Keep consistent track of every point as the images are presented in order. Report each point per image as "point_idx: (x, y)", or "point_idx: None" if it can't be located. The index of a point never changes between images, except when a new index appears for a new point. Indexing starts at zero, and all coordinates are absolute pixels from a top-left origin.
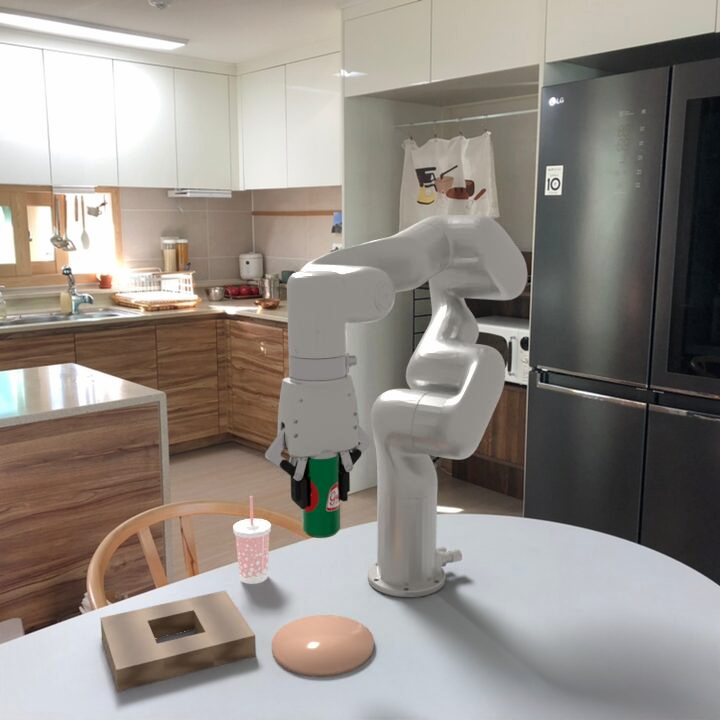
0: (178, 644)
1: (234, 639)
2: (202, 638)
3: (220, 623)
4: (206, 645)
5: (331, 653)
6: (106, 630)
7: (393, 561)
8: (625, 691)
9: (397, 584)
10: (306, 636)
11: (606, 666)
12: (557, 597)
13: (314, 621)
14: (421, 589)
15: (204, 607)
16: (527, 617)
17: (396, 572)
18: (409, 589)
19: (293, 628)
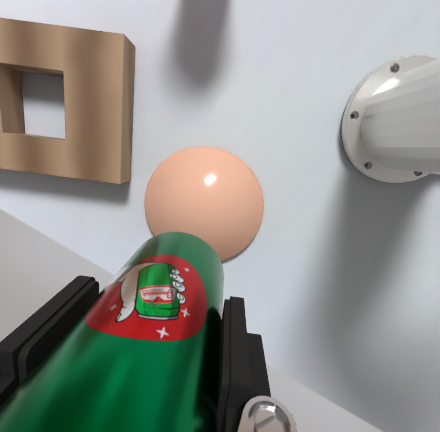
0: (27, 149)
1: (94, 178)
2: (58, 153)
3: (88, 131)
4: (59, 172)
5: (199, 234)
6: None
7: (385, 143)
8: (385, 403)
9: (367, 149)
10: (192, 188)
11: (408, 377)
12: None
13: (217, 163)
14: (383, 178)
15: (79, 72)
16: (434, 284)
17: (376, 148)
18: (370, 169)
19: (186, 163)
